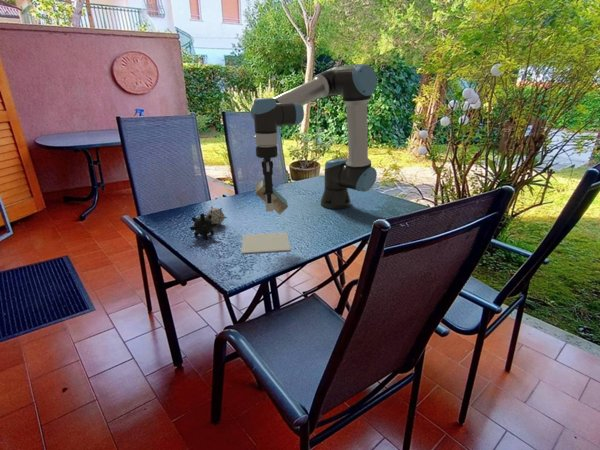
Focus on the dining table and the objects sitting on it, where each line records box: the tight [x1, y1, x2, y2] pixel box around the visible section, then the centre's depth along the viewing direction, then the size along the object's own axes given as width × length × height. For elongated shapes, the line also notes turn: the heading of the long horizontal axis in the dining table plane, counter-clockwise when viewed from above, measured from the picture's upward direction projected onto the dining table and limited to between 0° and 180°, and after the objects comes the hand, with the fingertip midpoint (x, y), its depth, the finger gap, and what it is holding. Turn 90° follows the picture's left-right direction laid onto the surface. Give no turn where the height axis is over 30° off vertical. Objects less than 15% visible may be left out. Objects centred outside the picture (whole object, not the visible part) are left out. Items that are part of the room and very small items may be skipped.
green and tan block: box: [254, 179, 289, 215], centre depth 125 cm, size 4×8×12 cm
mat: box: [240, 232, 292, 255], centre depth 132 cm, size 18×16×1 cm
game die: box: [204, 206, 228, 227], centre depth 148 cm, size 9×8×10 cm
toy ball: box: [189, 213, 218, 241], centre depth 137 cm, size 11×11×12 cm
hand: (269, 207), depth 127 cm, fingers closed on green and tan block, 8 cm apart
